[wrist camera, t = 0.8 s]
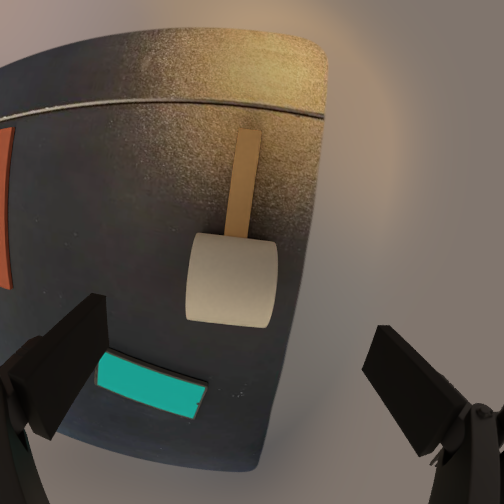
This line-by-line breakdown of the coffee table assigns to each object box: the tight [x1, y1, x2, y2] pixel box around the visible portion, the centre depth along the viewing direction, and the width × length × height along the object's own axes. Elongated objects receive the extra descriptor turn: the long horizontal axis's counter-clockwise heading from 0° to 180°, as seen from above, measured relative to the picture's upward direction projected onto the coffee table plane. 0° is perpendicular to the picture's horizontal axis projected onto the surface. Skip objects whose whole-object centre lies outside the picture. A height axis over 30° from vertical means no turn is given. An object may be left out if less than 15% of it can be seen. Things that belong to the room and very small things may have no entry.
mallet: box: [186, 128, 278, 328], centre depth 25 cm, size 18×7×8 cm, turn 172°
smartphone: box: [94, 348, 208, 419], centre depth 32 cm, size 7×1×15 cm
